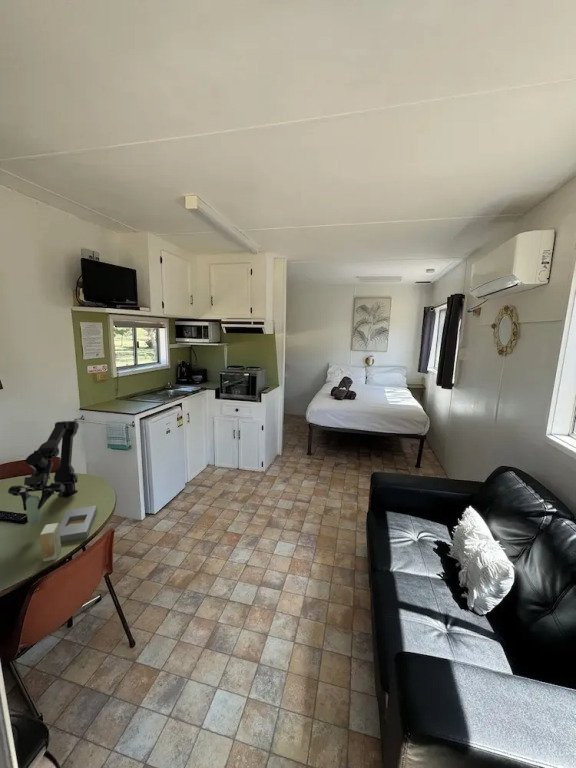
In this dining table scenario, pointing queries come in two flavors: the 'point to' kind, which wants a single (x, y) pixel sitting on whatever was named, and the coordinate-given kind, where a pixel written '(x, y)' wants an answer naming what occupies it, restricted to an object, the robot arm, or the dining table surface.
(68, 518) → the holder block
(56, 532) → the skincare box
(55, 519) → the dining table surface
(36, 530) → the dining table surface
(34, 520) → the sage peg
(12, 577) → the dining table surface
